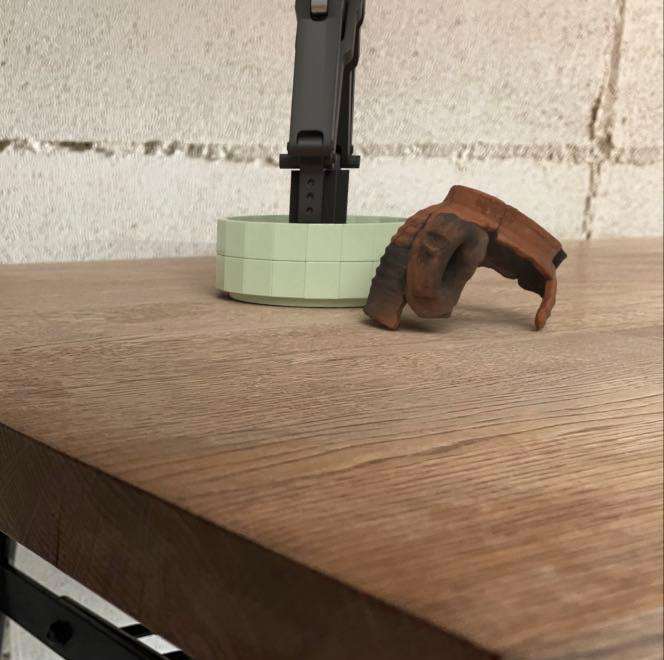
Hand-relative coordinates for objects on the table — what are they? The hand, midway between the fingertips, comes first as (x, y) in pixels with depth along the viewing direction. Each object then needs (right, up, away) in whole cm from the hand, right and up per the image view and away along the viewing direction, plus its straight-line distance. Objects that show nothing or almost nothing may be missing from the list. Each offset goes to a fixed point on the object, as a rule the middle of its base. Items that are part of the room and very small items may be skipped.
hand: (316, 273), depth 74 cm
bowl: (0, -1, +1) cm, 2 cm away
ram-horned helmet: (+5, -6, -13) cm, 15 cm away
